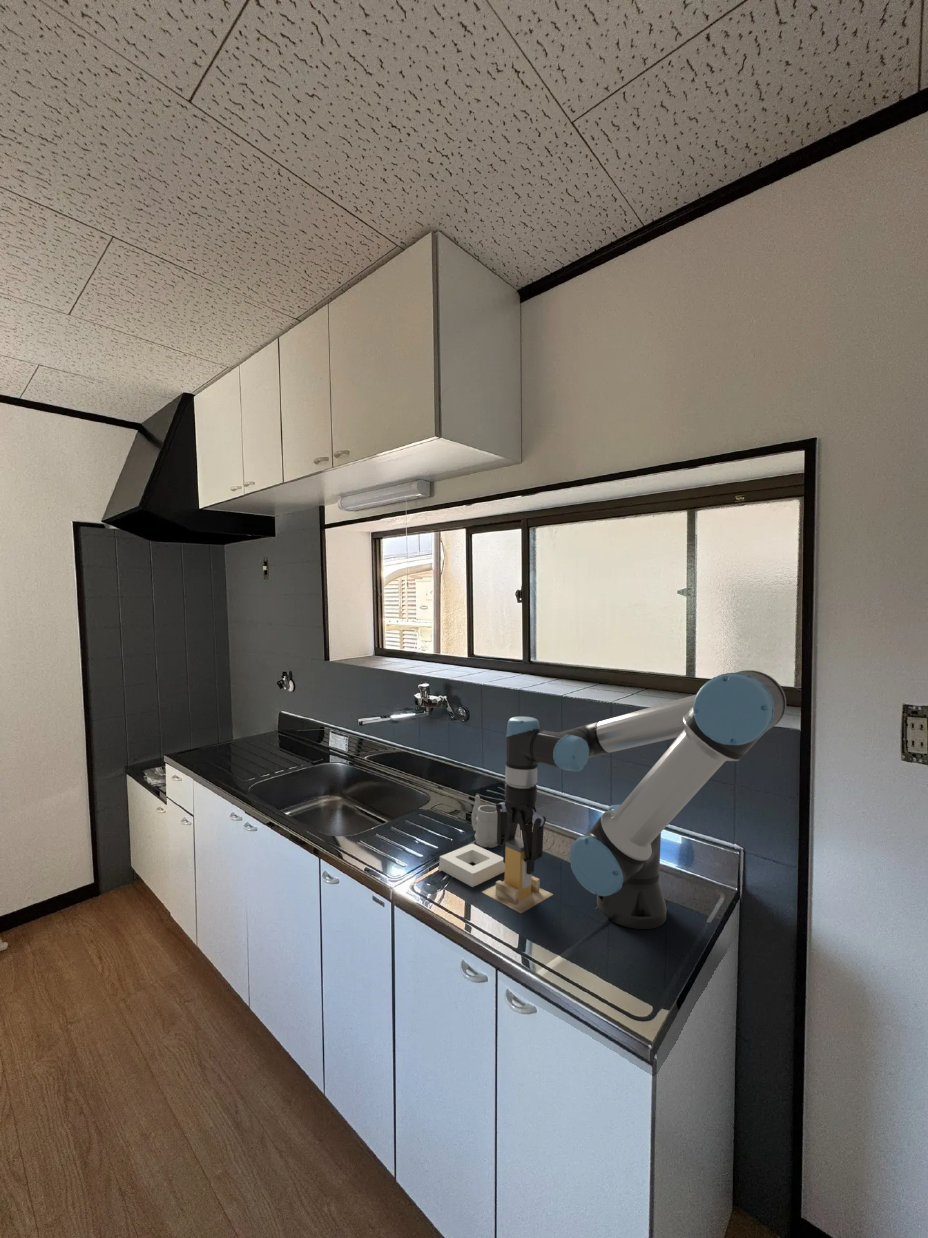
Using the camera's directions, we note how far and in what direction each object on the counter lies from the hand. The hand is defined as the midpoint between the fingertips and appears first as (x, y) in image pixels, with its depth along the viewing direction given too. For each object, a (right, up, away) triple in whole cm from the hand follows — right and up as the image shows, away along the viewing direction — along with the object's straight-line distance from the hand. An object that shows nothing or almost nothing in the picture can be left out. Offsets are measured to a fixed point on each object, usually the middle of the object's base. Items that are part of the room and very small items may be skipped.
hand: (517, 881), depth 125 cm
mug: (-7, -3, +31) cm, 32 cm away
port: (-11, -3, +11) cm, 15 cm away
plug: (0, -3, 0) cm, 3 cm away
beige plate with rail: (0, -3, 0) cm, 3 cm away
